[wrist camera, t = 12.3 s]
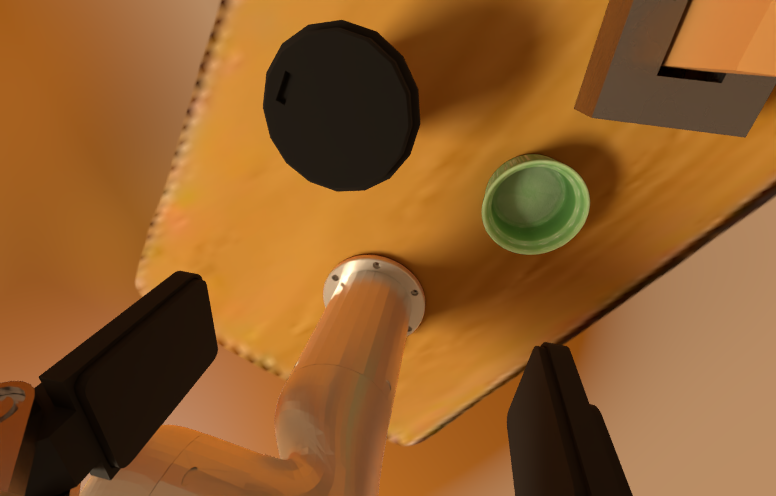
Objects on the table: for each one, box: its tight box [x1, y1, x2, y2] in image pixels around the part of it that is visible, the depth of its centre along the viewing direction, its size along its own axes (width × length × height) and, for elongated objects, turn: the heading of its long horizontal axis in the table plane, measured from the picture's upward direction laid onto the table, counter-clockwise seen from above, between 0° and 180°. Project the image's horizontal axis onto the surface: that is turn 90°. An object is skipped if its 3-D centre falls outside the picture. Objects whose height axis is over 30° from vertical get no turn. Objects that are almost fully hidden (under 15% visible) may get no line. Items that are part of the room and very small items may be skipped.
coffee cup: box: [263, 20, 420, 191], centre depth 29 cm, size 11×11×12 cm
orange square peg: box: [660, 0, 776, 77], centre depth 23 cm, size 3×4×12 cm
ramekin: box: [482, 154, 590, 255], centre depth 34 cm, size 9×9×4 cm
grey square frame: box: [574, 0, 776, 137], centre depth 26 cm, size 12×11×5 cm
